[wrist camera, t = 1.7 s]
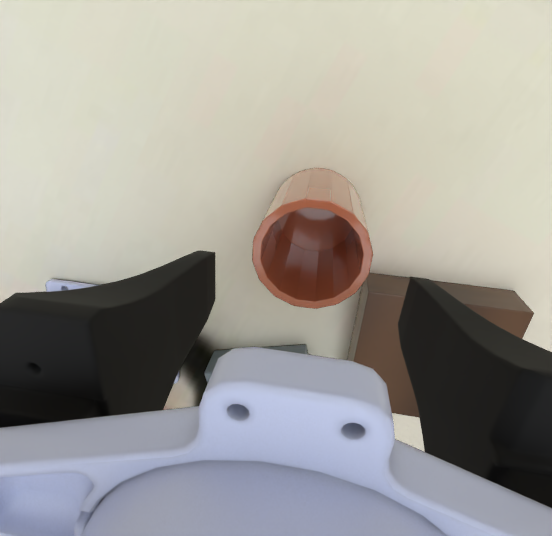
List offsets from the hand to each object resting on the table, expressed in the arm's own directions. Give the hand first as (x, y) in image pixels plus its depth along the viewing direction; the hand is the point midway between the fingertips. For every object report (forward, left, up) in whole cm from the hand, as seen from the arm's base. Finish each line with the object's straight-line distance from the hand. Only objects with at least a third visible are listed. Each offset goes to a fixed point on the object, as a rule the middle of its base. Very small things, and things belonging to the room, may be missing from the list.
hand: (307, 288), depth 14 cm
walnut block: (+8, -8, -9) cm, 15 cm away
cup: (0, 0, -9) cm, 9 cm away
